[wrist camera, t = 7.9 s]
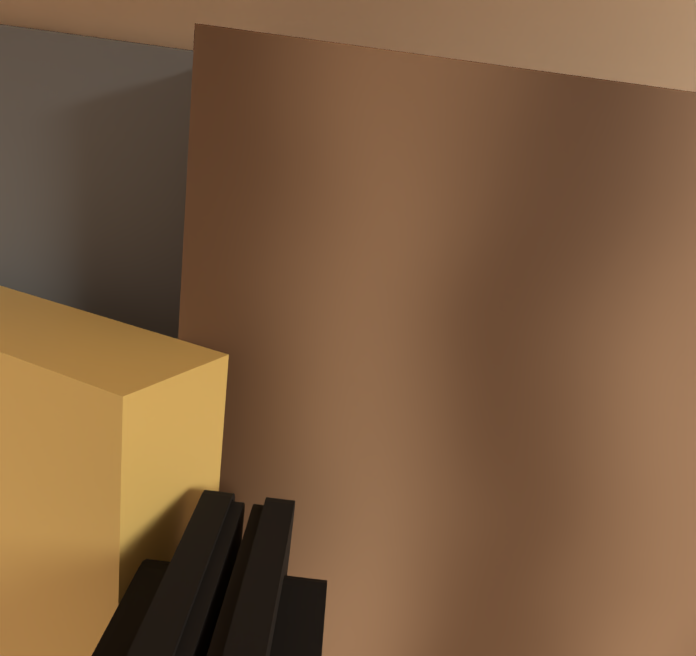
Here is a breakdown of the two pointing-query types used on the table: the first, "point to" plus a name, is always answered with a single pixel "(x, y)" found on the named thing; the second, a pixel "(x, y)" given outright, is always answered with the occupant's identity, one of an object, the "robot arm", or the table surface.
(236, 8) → the table surface
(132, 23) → the table surface
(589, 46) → the table surface
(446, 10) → the table surface
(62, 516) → the yellow sticky note pad
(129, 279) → the mat
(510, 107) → the plate
